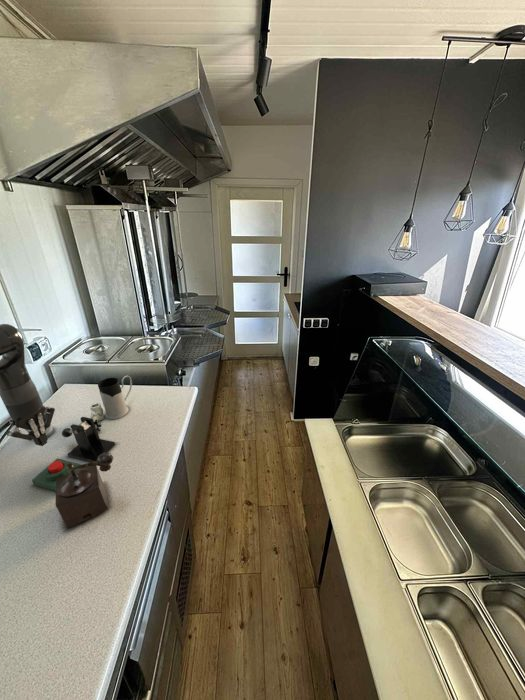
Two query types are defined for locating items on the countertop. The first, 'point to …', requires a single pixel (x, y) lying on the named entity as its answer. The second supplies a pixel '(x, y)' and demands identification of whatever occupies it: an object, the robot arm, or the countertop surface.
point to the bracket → (88, 442)
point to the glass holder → (113, 397)
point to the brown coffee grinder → (82, 491)
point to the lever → (68, 432)
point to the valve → (97, 414)
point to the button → (55, 467)
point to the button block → (52, 476)
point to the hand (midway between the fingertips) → (42, 444)
